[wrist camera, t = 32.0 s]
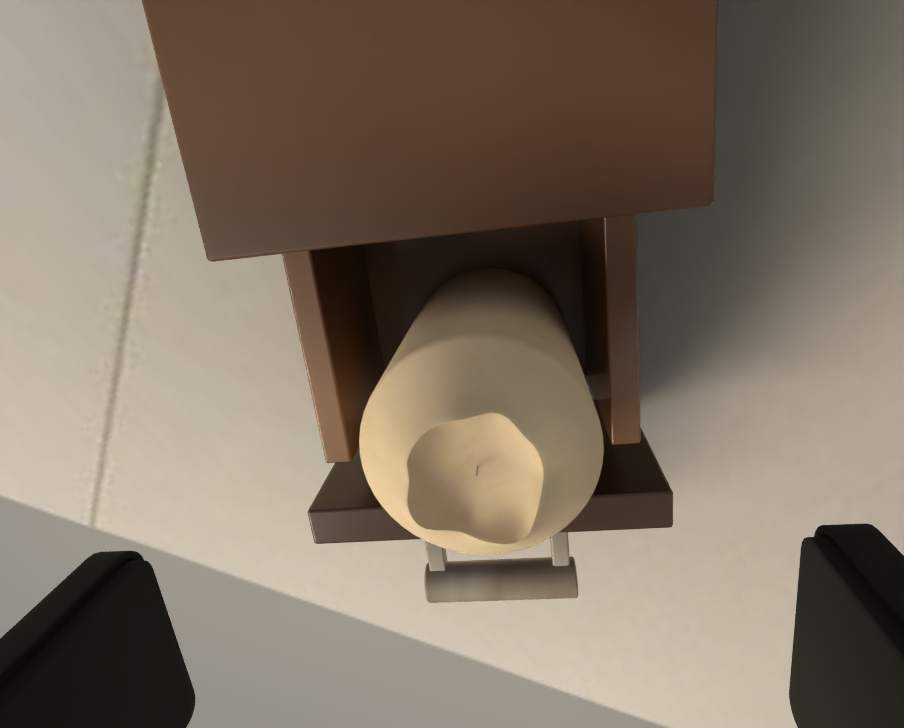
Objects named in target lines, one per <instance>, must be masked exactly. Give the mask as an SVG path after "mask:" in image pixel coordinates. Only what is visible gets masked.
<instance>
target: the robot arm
mask: <svg viewBox="0 0 904 728" xmlns="http://www.w3.org/2000/svg"><path fill="white" fill-rule="evenodd" d="M789 698H790V705H791V709H792V713H793V716H794V719H795V722H796V724H797V727H798V728H904V556H903V555H902V554H901V553H900V552H899V551H898V550H897V548H896V547H895V546H894V545H893V544H892V543H891V542H890V541H889V540H888V539H887V538H886V537H885V536H884V535H883V534H882V533H881V532H880V531H879V530H878V529H877V528H875V527H874V526H873V525H870V524H843V525H822V526H819V527H818V528H817V530H816V531H815V535H814V537H807V538H805V539H804V540H803V542H802V546H801V556H800V568H799V580H798V592H797V604H796V616H795V628H794V641H793V653H792V665H791V677H790V689H789ZM194 707H195V694H194V689H193V686H192V683H191V680H190V677H189V674H188V671H187V669H186V666H185V663H184V660H183V657H182V654H181V651H180V648H179V645H178V642H177V639H176V636H175V633H174V630H173V627H172V624H171V621H170V618H169V615H168V612H167V609H166V606H165V604H164V600H163V597H162V594H161V591H160V588H159V585H158V582H157V579H156V576H155V573H154V570H153V568H152V566H151V564H150V563H149V562H147V561H144V559H143V557H142V556H141V555H140V554H139V553H138V552H134V551H115V552H99V553H95V554H93V555H92V556H90V557H89V558H87V559H86V560H85V561H84V562H83V563H82V564H81V565H80V566H79V567H77V569H75V570H74V571H73V572H72V573H71V574H70V575H69V576H68V577H67V578H66V579H65V580H63V581H62V582H61V583H60V584H59V585H58V586H57V587H56V588H55V589H54V590H53V591H52V592H51V593H49V594H48V595H47V596H46V597H45V598H44V599H43V600H42V601H41V602H40V603H39V604H37V606H36V607H34V608H33V609H32V610H31V611H30V612H29V613H28V614H27V615H26V616H24V617H23V618H22V619H21V620H20V621H19V622H18V623H17V624H16V625H15V626H14V627H13V628H12V629H10V630H9V631H8V632H7V633H6V634H5V635H4V636H3V637H2V638H1V639H0V728H186V727H187V725H188V723H189V721H190V719H191V717H192V714H193V711H194Z"/></svg>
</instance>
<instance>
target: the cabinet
mask: <svg viewBox="0 0 904 728" xmlns="http://www.w3.org/2000/svg"><path fill="white" fill-rule="evenodd" d="M142 3H143V7H144V11H145V15H146V19H147V22H148V26H149V30H150V34H151V38H152V42H153V46H154V50H155V54H156V58H157V62H158V66H159V70H160V74H161V78H162V82H163V86H164V90H165V93H166V97H167V101H168V105H169V109H170V113H171V117H172V121H173V125H174V129H175V133H176V137H177V141H178V145H179V149H180V153H181V157H182V161H183V164H184V168H185V172H186V176H187V180H188V184H189V188H190V192H191V196H192V200H193V204H194V208H195V212H196V216H197V220H198V224H199V228H200V232H201V235H202V239H203V243H204V247H205V251H206V255H207V259H208V260H209V261H212V262H213V261H222V260H231V259H240V258H249V257H258V256H266V255H275V254H284V253H293V252H302V251H311V250H320V249H329V248H338V247H347V246H356V245H365V244H374V243H383V242H392V241H401V240H410V239H418V238H427V237H436V236H445V235H454V234H463V233H472V232H481V231H490V230H499V229H508V228H517V227H526V226H535V225H544V224H553V223H562V222H570V221H579V220H588V219H597V218H606V217H615V216H624V215H633V214H642V213H651V212H660V211H669V210H678V209H687V208H696V207H705V206H710V205H712V203H713V201H714V158H715V115H716V72H717V29H718V0H142Z"/></svg>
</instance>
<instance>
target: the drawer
mask: <svg viewBox="0 0 904 728" xmlns="http://www.w3.org/2000/svg"><path fill="white" fill-rule="evenodd" d="M282 256H283V261H284V266H285V270H286V275H287V280H288V285H289V289H290V294H291V299H292V303H293V308H294V313H295V318H296V322H297V327H298V332H299V336H300V341H301V346H302V351H303V355H304V360H305V365H306V369H307V374H308V379H309V384H310V388H311V393H312V398H313V402H314V407H315V412H316V417H317V421H318V426H319V431H320V436H321V440H322V445H323V450H324V454H325V459H326V462H327V463H335V464H334V466H333V468H332V469H331V471H330V473H329V475H328V476H327V478H326V480H325V482H324V484H323V485H322V487H321V489H320V491H319V492H318V494H317V496H316V498H315V499H314V501H313V503H312V505H311V506H310V508H309V510H308V516H309V520H310V525H311V529H312V533H313V538H314V542H315V543H316V544H323V543H344V542H366V541H387V540H409V539H421V538H419V537H417V536H416V535H414V534H412V533H411V532H410V531H408V530H407V529H405V528H404V527H402V526H401V525H400V524H399V523H398V522H397V521H396V520H394V519H393V518H392V517H391V516H390V515H389V514H388V512H387V511H386V510H385V509H384V508H383V507H382V505H381V504H380V503H379V501H378V500H377V498H376V497H375V495H374V494H373V492H372V490H371V488H370V486H369V484H368V482H367V479H366V476H365V473H364V470H363V467H362V462H361V457H360V447H359V436H360V426H361V421H362V417H363V413H364V410H365V408H366V405H367V403H368V400H369V398H370V396H371V394H372V393H373V391H374V389H375V387H376V386H377V384H378V382H379V380H380V379H381V377H382V375H383V374H384V372H385V370H386V368H387V367H388V365H389V363H390V361H391V360H392V358H393V356H394V354H395V353H396V351H397V349H398V348H399V346H400V344H401V342H402V341H403V339H404V337H405V335H406V334H407V332H408V330H409V329H410V327H411V325H412V323H413V322H414V320H415V318H416V316H417V315H418V313H419V311H420V309H421V308H422V306H423V305H424V303H425V302H426V300H427V299H428V298H429V297H430V295H431V294H432V293H433V292H434V291H435V290H436V289H437V288H438V287H439V286H440V285H442V284H443V283H444V282H446V281H447V280H449V279H451V278H452V277H454V276H456V275H458V274H461V273H463V272H466V271H470V270H474V269H480V268H501V269H507V270H511V271H514V272H517V273H520V274H522V275H524V276H527V277H528V278H530V279H532V280H533V281H535V282H537V283H538V284H539V285H540V286H542V287H543V288H544V289H545V290H546V291H547V292H548V293H549V294H550V295H551V297H552V298H553V299H554V301H555V302H556V303H557V305H558V307H559V309H560V311H561V313H562V315H563V317H564V320H565V322H566V325H567V328H568V331H569V334H570V336H571V339H572V342H573V345H574V348H575V351H576V354H577V357H578V359H579V362H580V365H581V368H582V371H583V374H584V376H586V375H587V378H588V380H589V383H590V386H591V389H592V391H593V394H594V397H595V399H593V402H594V405H595V408H596V411H597V414H598V417H599V420H600V424H601V429H602V434H603V446H604V454H603V464H602V469H601V473H600V477H599V480H598V483H597V485H596V487H595V490H594V492H593V494H592V496H591V497H590V499H589V501H588V502H587V504H586V506H585V507H584V508H583V509H582V511H581V512H580V513H579V514H578V516H577V517H576V518H575V519H574V520H573V521H572V522H570V523H569V524H568V525H567V526H566V527H565V528H563V529H562V530H561V531H559V532H558V533H557V534H555V535H554V536H552V537H550V541H551V554H552V557H547V558H523V559H499V560H475V561H451V562H447V555H446V549H445V548H442V547H439V546H436V545H434V544H431V543H429V542H427V541H425V543H426V550H427V556H428V562H429V563H427V565H426V569H425V594H426V598H427V601H428V602H429V603H438V602H469V601H499V600H530V599H560V598H577V597H578V583H577V573H576V565H575V560H574V557H572V556H571V557H569V544H568V532H580V531H602V530H623V529H645V528H666V527H672V525H673V492H672V490H671V488H670V486H669V484H668V482H667V480H666V478H665V476H664V474H663V472H662V470H661V468H660V466H659V464H658V462H657V460H656V457H655V455H654V453H653V451H652V449H651V447H650V445H649V443H648V441H647V439H646V437H645V435H644V433H643V431H642V429H641V427H640V373H639V317H638V260H637V214H633V215H624V216H615V217H606V218H597V219H588V220H579V221H570V222H562V223H553V224H544V225H535V226H526V227H517V228H508V229H499V230H490V231H481V232H472V233H463V234H454V235H445V236H436V237H427V238H418V239H410V240H401V241H392V242H383V243H374V244H365V245H356V246H347V247H338V248H329V249H320V250H311V251H302V252H293V253H284V254H282Z"/></svg>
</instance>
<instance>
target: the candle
mask: <svg viewBox="0 0 904 728" xmlns="http://www.w3.org/2000/svg"><path fill="white" fill-rule="evenodd" d="M359 447H360V457H361V462H362V467H363V470H364V473H365V476H366V479H367V482H368V484H369V486H370V488H371V490H372V492H373V494H374V495H375V497H376V498H377V500H378V501H379V503H380V504H381V505H382V507H383V508H384V509H385V510H386V511H387V512H388V514H389V515H390V516H391V517H392V518H393V519H394V520H396V521H397V522H398V523H399V524H400V525H401V526H402V527H404V528H405V529H407V530H408V531H410V532H411V533H412V534H414V535H416V536H417V537H419V538H421V539H423V540H425V541H427V542H429V543H431V544H434V545H436V546H439V547H442V548H445V549H449V550H452V551H456V552H462V553H468V554H481V555H489V554H502V553H509V552H515V551H518V550H522V549H525V548H529V547H531V546H534V545H536V544H538V543H541V542H543V541H545V540H547V539H548V538H550V537H552V536H554V535H555V534H557V533H558V532H559V531H561V530H562V529H563V528H565V527H566V526H567V525H568V524H569V523H570V522H572V521H573V520H574V519H575V518H576V517H577V516H578V514H579V513H580V512H581V511H582V509H583V508H584V507H585V506H586V504H587V502H588V501H589V499H590V497H591V496H592V494H593V492H594V490H595V487H596V485H597V483H598V480H599V477H600V473H601V469H602V464H603V454H604V446H603V434H602V429H601V424H600V420H599V417H598V414H597V411H596V408H595V405H594V402H593V400H592V397H591V394H590V391H589V388H588V385H587V382H586V379H585V377H584V374H583V371H582V368H581V365H580V362H579V359H578V357H577V354H576V351H575V348H574V345H573V342H572V339H571V336H570V334H569V331H568V328H567V325H566V322H565V320H564V317H563V315H562V313H561V311H560V309H559V307H558V305H557V303H556V302H555V301H554V299H553V298H552V297H551V295H550V294H549V293H548V292H547V291H546V290H545V289H544V288H543V287H542V286H540V285H539V284H538V283H537V282H535V281H533V280H532V279H530V278H528V277H527V276H524V275H522V274H520V273H517V272H514V271H511V270H507V269H501V268H480V269H474V270H470V271H466V272H463V273H461V274H458V275H456V276H454V277H452V278H451V279H449V280H447V281H446V282H444V283H443V284H442V285H440V286H439V287H438V288H437V289H436V290H435V291H434V292H433V293H432V294H431V295H430V297H429V298H428V299H427V300H426V302H425V303H424V305H423V306H422V308H421V309H420V311H419V313H418V315H417V316H416V318H415V320H414V322H413V323H412V325H411V327H410V329H409V330H408V332H407V334H406V335H405V337H404V339H403V341H402V342H401V344H400V346H399V348H398V349H397V351H396V353H395V354H394V356H393V358H392V360H391V361H390V363H389V365H388V367H387V368H386V370H385V372H384V374H383V375H382V377H381V379H380V380H379V382H378V384H377V386H376V387H375V389H374V391H373V393H372V394H371V396H370V398H369V400H368V403H367V405H366V408H365V410H364V413H363V417H362V421H361V426H360V436H359Z"/></svg>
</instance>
